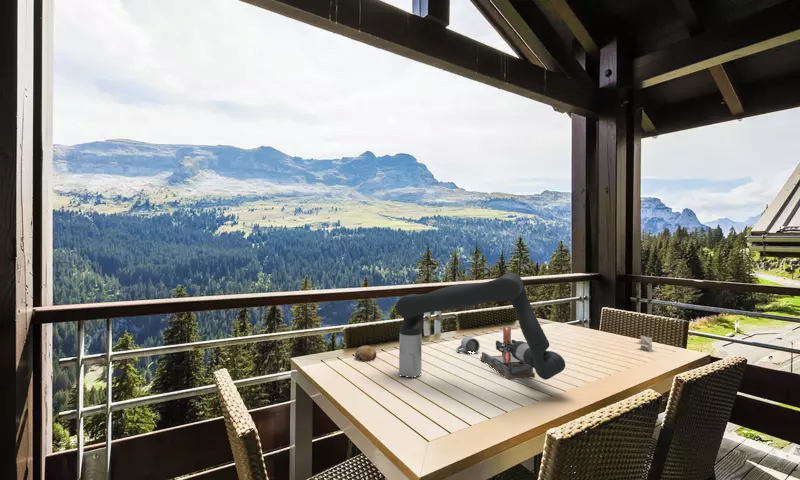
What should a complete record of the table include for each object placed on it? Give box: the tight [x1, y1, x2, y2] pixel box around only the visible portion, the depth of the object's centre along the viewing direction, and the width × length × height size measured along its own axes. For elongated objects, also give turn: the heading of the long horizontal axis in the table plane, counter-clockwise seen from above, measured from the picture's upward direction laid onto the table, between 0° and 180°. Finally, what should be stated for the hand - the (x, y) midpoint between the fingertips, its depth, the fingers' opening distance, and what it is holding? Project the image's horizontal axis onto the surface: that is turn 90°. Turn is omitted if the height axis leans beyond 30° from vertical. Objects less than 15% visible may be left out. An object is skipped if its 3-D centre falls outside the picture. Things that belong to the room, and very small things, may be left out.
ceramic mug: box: [456, 336, 481, 354], centre depth 196 cm, size 11×8×8 cm
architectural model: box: [634, 335, 653, 353], centre depth 199 cm, size 3×7×7 cm, turn 27°
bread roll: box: [354, 345, 377, 362], centre depth 185 cm, size 10×10×8 cm
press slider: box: [494, 326, 521, 367], centre depth 170 cm, size 8×8×16 cm
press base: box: [480, 351, 536, 380], centre depth 171 cm, size 26×12×5 cm, turn 13°
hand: (504, 342), depth 172 cm, fingers open, 7 cm apart
